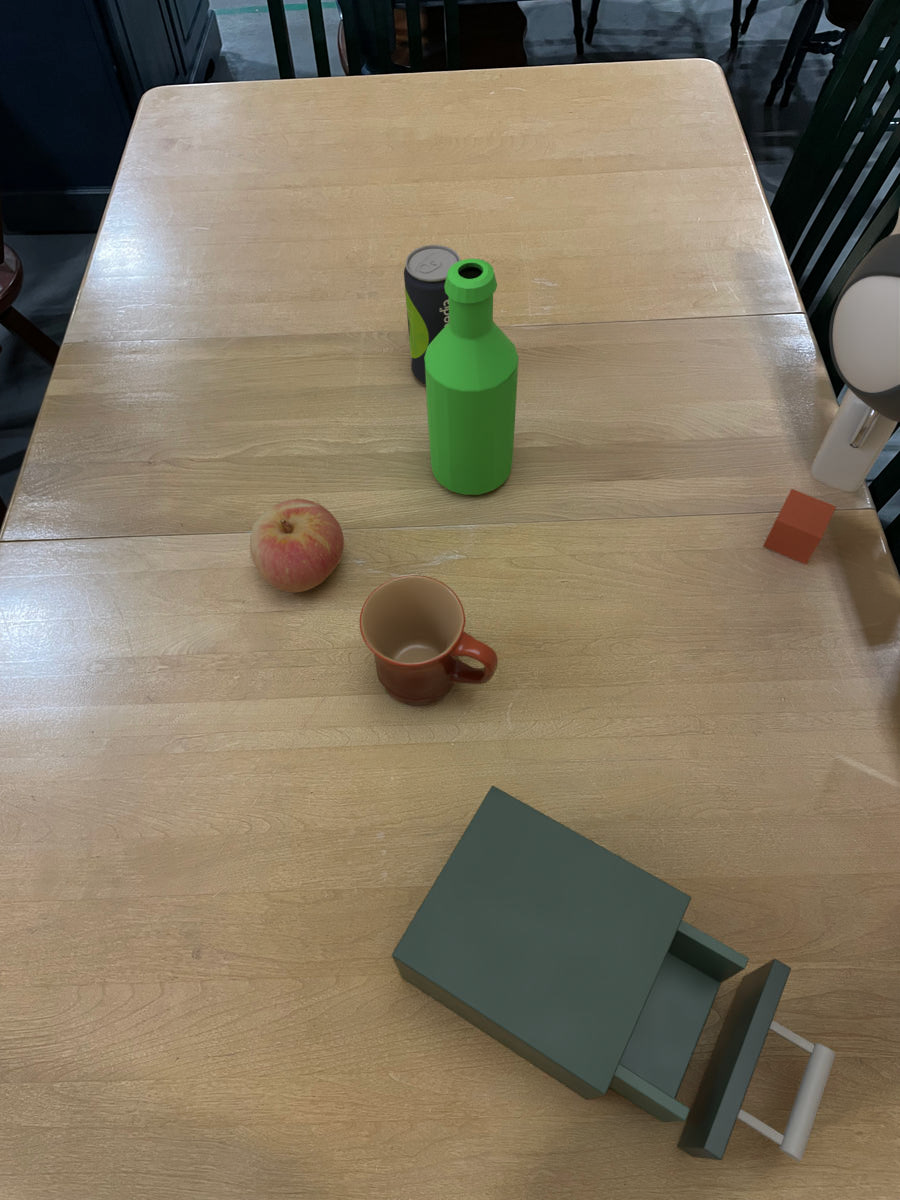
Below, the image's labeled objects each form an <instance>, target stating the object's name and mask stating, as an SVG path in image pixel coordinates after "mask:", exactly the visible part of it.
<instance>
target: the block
mask: <svg viewBox="0 0 900 1200" xmlns="http://www.w3.org/2000/svg"><path fill="white" fill-rule="evenodd" d="M836 508H837V506H836V505H834V504H831V503H828V502H827V501H824V500H821V499H819V498H816V497H814V496H811V495H808V494H806V493H804V492H801V491H799V490H796V489H794V488H791V489H790V490H789V492H788V495H787V497H786V499H785V501H784V503H783V505H782V507H781V508H780V510H779V513H778V514H777V516H776V519H775V520H774V523H773V525H772V527H771V529H770V531H769V533H768V535H767V537H766V539H765V541H764V543H763V548H765V549H768V550H770V551H773V552H775V553H778V554H779V555H782V556H784V557H786V558H789V559H792V560H794V561H797V562H798V563H801V564H803V565H808V563H809V562H810V559H811V557H812V556H813V554H814V553H815V551H816V549H817V547H818V546H819V544H820V542H821V541H822V539H823V536H824V535H825V532H826V530H827V528H828V526H829V525H830V521H831V520H832V517H833V515H834V512H835V511H836Z"/></svg>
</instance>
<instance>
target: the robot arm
mask: <svg viewBox="0 0 900 1200" xmlns="http://www.w3.org/2000/svg"><path fill="white" fill-rule="evenodd" d="M897 217H898V218H897V220H896V224H895V226H894V229H893V230H892V232H891V233H890V234H889V235H888V236H886V237H883V238H882V239H880V240H879V241H878V242H877V243H876V244H875V245H874V246H873V247H871V249H870V251H869V252H867V254H866V255H865V256H864V257H863V259H862V260H861V261H860V263H859V264H858V265H856V267H855V269H853V272H852V273H851V275H850V276H849V278H848V280H847V281H846V283H845V284H844V286H843V288H842V289H841V291H840V293H839V295H838V297H837V299H836V302H835V303H834V306H833V309H832V312H831V316H830V321H829V328H828V329H829V330H828V343H829V352H830V356H831V360H832V363H833V365H834V368H835V370H836V372H837V374H838V376H839V377H840V379H841V380H842V382H843V383H844V384H845V385H846V387H847V389H846V391H845V393H844V396H843V398H842V400H841V401H840V404H839V406H838V409H837V411H836V413H835V415H834V417H833V419H832V420H831V421H832V422H831V423H830V425H829V427H828V430H827V431H826V434H825V436H824V438H823V441H822V443H821V445H820V446H819V449H818V451H817V453H816V455H815V458H814V460H813V461H812V464H811V466H810V470H809V476H810V477H811V479H813V480H814V481H817V482H819V483H821V484H823V485H825V486H828V487H830V488H832V489H835V490H838V491H841V492H844V493H849V494H850V493H854V492H856V491H858V490H859V488H860V487H861V485H862V484H863V483H864V481H865V480H866V478H867V476H868V475H869V473H870V471H871V470H872V468H873V466H874V464H875V463H876V461H877V460H878V458H879V456H880V455H881V453H882V451H883V449H884V448H885V446H886V445H887V443H888V441H889V439H890V437H891V436H892V435H893V432H894V431H895V429H896V427H897V424H898V423H900V207H899V208H898V216H897Z"/></svg>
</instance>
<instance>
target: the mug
mask: <svg viewBox="0 0 900 1200" xmlns="http://www.w3.org/2000/svg"><path fill="white" fill-rule="evenodd" d="M465 627H466V614H465V610H464V606H463V604H462V602H461V599H460V598H459V596H458V595H457V594H456V592H455V591H454V590H453V589H452V588H451V587H450V586H448V585H447V584H446V583H444V582H442V581H440V580H438V579H436V578H433V577H429V576H427V575H418V574H417V575H416V574H412V575H411V574H410V575H403V576H398V577H394V578H392V579H390V580H387V581H385V582H384V583H382V584H381V585H379V586H378V587H376V588H375V589H374V590H373V591H372V592H371V593H370V594H369V595H368V597H367V598H366V599H365V601H364V603H363V605H362V608H361V611H360V615H359V631H360V634H361V637H362V640H363V641H364V643H365V645H366V647H367V648H368V649H369V650H370V651H371V653H373V655H374V656H373V657H374V663H375V670H376V675H377V678H378V681H379V682H380V684H381V685H382V687H383V688H384V689H385V691H386V693H387V694H388V695H389V696H390V697H391V698H392V699H394V700H395V701H397V702H398V703H401V704H404V705H407V706H413V707H423V706H428V705H432V704H434V703H436V702H438V701H440V700H442V699H443V698H444V697H445V696H447V694H448V693H449V692H450V690H452V687H453V686H454V684H455V683H456V684H460V685H462V684H463V685H465V684H467V685H483V684H486V683H489V682H490V681H491V679H492V678H493V677H494V675H495V673H496V671H497V668H498V664H499V659H498V654H497V652H496V651H495V649H493V648H492V647H491V646H490V645H488V644H486V643H485V642H482V641H481V640H479V639H477V638H475V637H473V636H472V635H471V634H469V633H467V632H465ZM459 657H468V658H470V659H471V658H472V659H474V660H476V661H478V662H479V663H481V664H482V665H483V667H481V668H479V667H473V666H471V665H469V664H467V663H466V662H464V661H463V660H462V659H460V658H459Z"/></svg>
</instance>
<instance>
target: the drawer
mask: <svg viewBox="0 0 900 1200" xmlns="http://www.w3.org/2000/svg"><path fill="white" fill-rule="evenodd" d="M749 960H750V958H749V957H748V956H746V955H744V954H743V953H741V952H739V951H737V950H735V949H733V948H732V947H730V946H728V945H727V944H725V943H723V942H721V941H720V940H718V939H716V938H715V937H713V936H711V935H710V934H708V933H706V932H704V931H702V930H701V929H699V928H697V927H695V926H693V925H692V924H691V923H688V922H686V921H685V920H683V919H682V921H681V923H680V925H679V928H678V930H677V932H676V934H675V937H674V939H673V941H672V944H671V946H670V948H669V951H668V953H667V955H666V957H665V960H664V962H663V964H662V967H661V969H660V971H659V973H658V976H657V978H656V980H655V983H654V985H653V987H652V989H651V992H650V994H649V996H648V999H647V1001H646V1003H645V1005H644V1008H643V1010H642V1012H641V1015H640V1017H639V1019H638V1022H637V1024H636V1026H635V1028H634V1031H633V1033H632V1035H631V1038H630V1040H629V1042H628V1044H627V1047H626V1049H625V1051H624V1054H623V1056H622V1058H621V1060H620V1063H619V1065H618V1067H617V1070H616V1072H615V1074H614V1076H613V1079H612V1081H611V1083H610V1086H609V1088H608V1089H611V1090H612V1091H614V1092H615V1093H617V1094H619V1095H620V1096H621V1097H623V1098H624V1099H626V1100H628V1101H629V1102H630V1103H632V1104H633V1105H635V1106H636V1107H638V1108H639V1109H642V1110H643V1111H645V1112H647V1113H648V1114H650V1115H651V1116H652V1117H654V1118H655V1119H657V1120H659V1121H660V1122H661V1123H676V1122H677V1123H679V1122H686V1123H685V1125H684V1128H683V1130H682V1132H681V1135H680V1137H679V1140H678V1143H677V1148H678V1149H679V1150H680V1151H682V1152H684V1153H685V1154H687V1155H688V1156H690V1157H691V1158H698V1159H707V1160H714V1161H715V1160H716V1161H722V1160H723V1157H724V1155H725V1152H726V1150H727V1148H728V1144H729V1142H730V1138H731V1136H732V1133H733V1130H734V1127H735V1125H736V1122H737V1120H738V1121H740V1122H741V1123H743V1124H745V1125H746V1126H748V1128H751V1129H752V1130H754V1131H756V1132H757V1133H759V1134H760V1135H762V1137H765V1138H766V1139H768V1140H770V1141H771V1142H773V1143H774V1144H776V1145H778V1150H779V1151H780V1152H781V1153H783V1155H786V1156H787V1157H788V1158H791V1159H792V1160H795V1161H797V1162H799V1163H800V1162H802V1161H803V1157H804V1154H805V1151H806V1147H807V1145H808V1141H809V1139H810V1136H811V1132H812V1129H813V1127H814V1122H815V1119H816V1116H817V1114H818V1111H819V1108H820V1104H821V1101H822V1098H823V1096H824V1092H825V1088H826V1086H827V1082H828V1079H829V1076H830V1073H831V1071H832V1070H831V1069H832V1067H833V1064H834V1061H835V1057H836V1053H835V1051H834V1050H832V1049H831V1048H830V1047H828V1046H826V1045H824V1044H822V1043H819V1042H814V1043H813V1042H811V1041H809V1040H807V1039H806V1038H804V1037H802V1036H801V1035H799V1034H797V1033H796V1032H794V1031H792V1030H790V1029H788V1028H787V1027H786V1026H783V1025H782V1024H780V1023H778V1022H777V1021H775V1020H774V1017H775V1015H776V1011H777V1009H778V1006H779V1004H780V1001H781V997H782V995H783V992H784V990H785V987H786V984H787V981H788V979H789V976H790V973H791V970H792V968H791V966H789V965H787V964H785V963H783V962H781V961H780V960H778V959H776V958H772V959H771V960H769V961H767V962H766V963H764V964H763V965H761V966H759V967H758V968H756V969H754V970H752V971H751V972H749V973H747V974H745V975H744V976H742V978H741V981H740V983H739V987H738V988H737V991H736V993H735V996H734V999H733V1001H732V1004H731V1007H730V1009H729V1011H728V1014H727V1017H726V1019H725V1021H724V1025H723V1027H722V1029H721V1032H720V1034H719V1037H718V1040H717V1042H716V1045H715V1048H714V1050H713V1053H712V1056H711V1058H710V1061H709V1063H708V1066H707V1067H706V1070H705V1074H704V1076H703V1078H702V1081H701V1083H700V1085H699V1086H700V1087H699V1089H698V1092H697V1094H696V1097H695V1099H694V1102H693V1105H692V1106H691V1108H690V1107H689V1106H687V1105H686V1104H684V1103H682V1102H681V1101H679V1100H677V1099H676V1097H677V1096H678V1095H677V1094H678V1092H679V1089H680V1087H681V1084H682V1082H683V1079H684V1078H685V1074H686V1072H687V1070H688V1067H689V1065H690V1062H691V1060H692V1057H693V1054H694V1052H695V1049H696V1047H697V1044H698V1042H699V1039H700V1037H701V1034H702V1032H703V1029H704V1028H705V1025H706V1022H707V1019H708V1017H709V1014H710V1012H711V1010H712V1007H713V1004H714V1002H715V999H716V997H717V994H718V992H719V990H720V987H721V984H722V983H724V982H726V981H727V980H729V979H730V978H732V977H733V976H735V975H737V974H739V973H740V972H742V971H744V970H746V968H747V965H748V962H749ZM769 1032H771V1033H773V1034H775V1035H776V1036H778V1037H780V1038H782V1039H783V1040H785V1041H787V1042H789V1043H790V1044H792V1045H794V1046H795V1047H797V1048H798V1049H800V1050H802V1051H804V1052H805V1053H807V1054H809V1056H808V1059H807V1062H806V1065H805V1069H804V1071H803V1075H802V1077H801V1080H800V1084H799V1086H798V1089H797V1092H796V1095H795V1098H794V1101H793V1104H792V1107H791V1110H790V1113H789V1116H788V1119H787V1122H786V1124H785V1128H784V1131H783V1134H782V1133H781V1132H779V1131H778V1130H776V1129H774V1128H773V1127H771V1126H770V1125H768V1124H767V1123H766V1122H763V1121H761V1119H758V1117H756V1116H754V1115H752V1114H751V1113H749V1112H747V1111H746V1110H744V1109H742V1105H743V1103H744V1100H745V1097H746V1094H747V1092H748V1089H749V1086H750V1083H751V1081H752V1078H753V1076H754V1072H755V1070H756V1067H757V1065H758V1061H759V1059H760V1056H761V1053H762V1050H763V1047H764V1045H765V1042H766V1041H767V1040H766V1039H767V1037H768V1034H769Z"/></svg>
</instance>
